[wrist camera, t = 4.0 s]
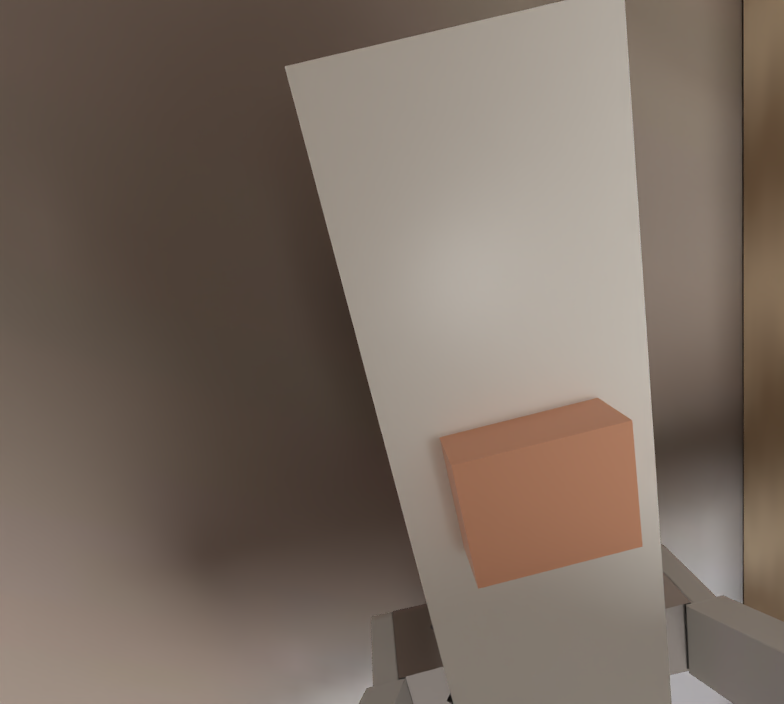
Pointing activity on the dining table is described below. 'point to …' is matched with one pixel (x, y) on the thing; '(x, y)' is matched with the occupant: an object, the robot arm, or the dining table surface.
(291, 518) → the dining table surface
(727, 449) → the dining table surface
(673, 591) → the robot arm
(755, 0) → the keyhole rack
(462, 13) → the dining table surface
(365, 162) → the white long block
